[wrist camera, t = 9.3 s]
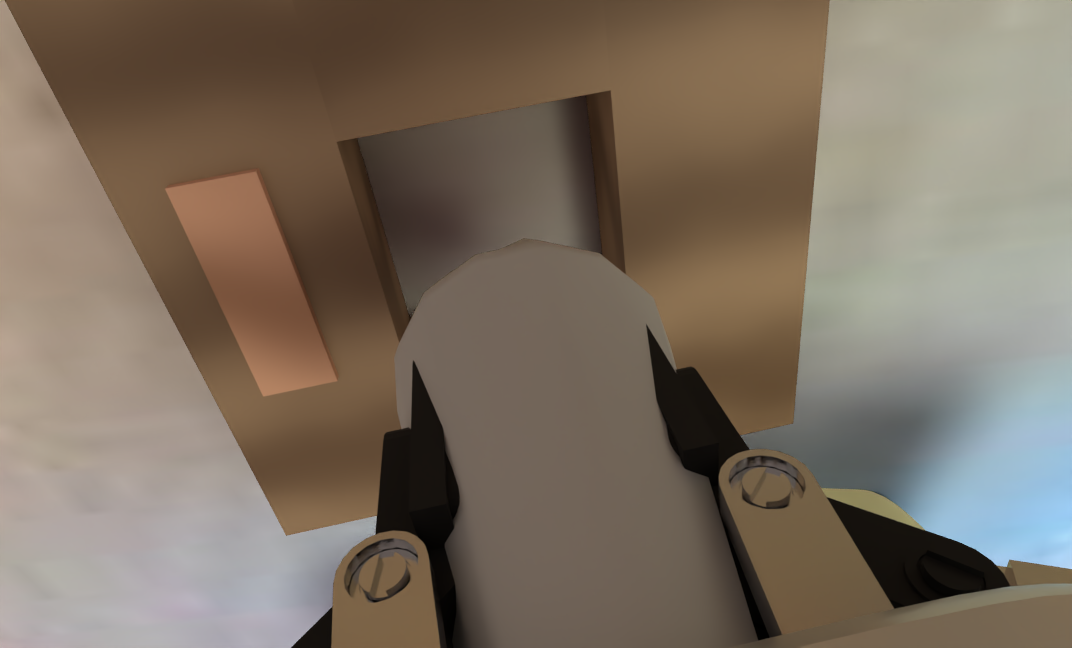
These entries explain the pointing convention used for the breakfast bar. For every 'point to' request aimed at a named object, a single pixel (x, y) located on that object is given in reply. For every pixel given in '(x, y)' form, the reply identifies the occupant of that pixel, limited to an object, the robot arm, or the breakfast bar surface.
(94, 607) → the breakfast bar surface
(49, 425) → the breakfast bar surface
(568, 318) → the salt shaker
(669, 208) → the socket block
